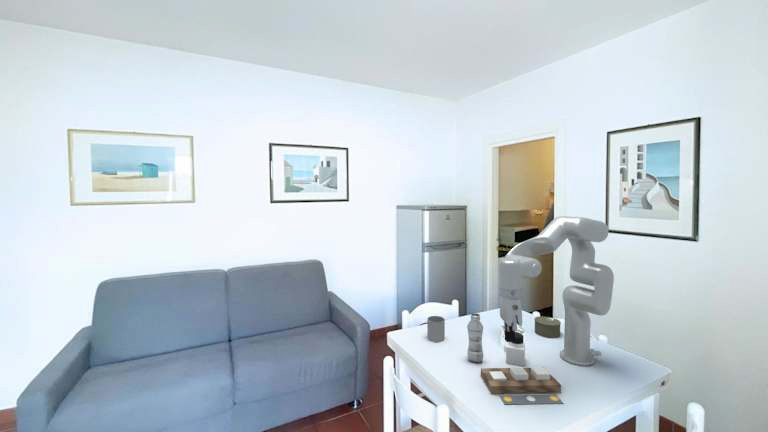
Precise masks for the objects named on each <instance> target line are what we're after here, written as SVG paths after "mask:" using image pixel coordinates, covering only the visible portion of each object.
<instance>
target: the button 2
mask: <svg viewBox="0 0 768 432" xmlns="http://www.w3.org/2000/svg"><path fill="white" fill-rule="evenodd" d="M530 368H531V374H532V375H533V377H534V378H535V379H536V380H550V374H551V373H550V372H549V371H548V370H547V369H546V368H545V367H543V366H542V367H540V366H539V367H537V366H536V367H534V366H533V367H530ZM548 372H549V373H550V374H549V373H548Z"/></svg>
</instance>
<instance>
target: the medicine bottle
mask: <svg viewBox="0 0 768 432" xmlns="http://www.w3.org/2000/svg"><path fill="white" fill-rule="evenodd" d="M525 358H526V343H525V342H524V335H523V334H522V333H520V332H519V331H515V342H506V345H505V363H506V364H510V365H516V366H520V367H525V363H526V361H525V360H526V359H525Z"/></svg>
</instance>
